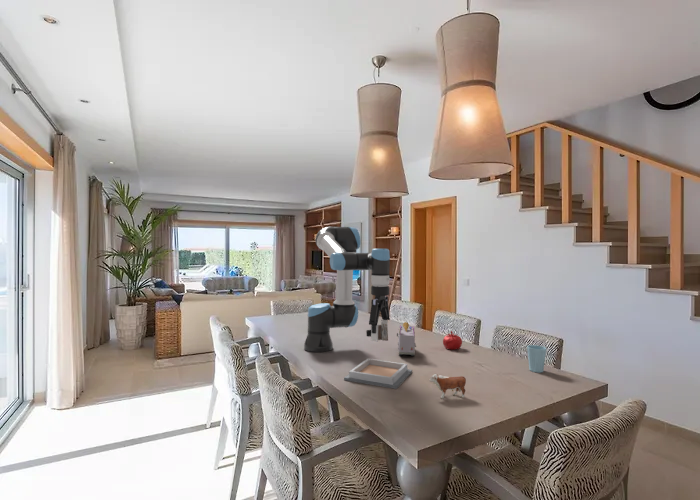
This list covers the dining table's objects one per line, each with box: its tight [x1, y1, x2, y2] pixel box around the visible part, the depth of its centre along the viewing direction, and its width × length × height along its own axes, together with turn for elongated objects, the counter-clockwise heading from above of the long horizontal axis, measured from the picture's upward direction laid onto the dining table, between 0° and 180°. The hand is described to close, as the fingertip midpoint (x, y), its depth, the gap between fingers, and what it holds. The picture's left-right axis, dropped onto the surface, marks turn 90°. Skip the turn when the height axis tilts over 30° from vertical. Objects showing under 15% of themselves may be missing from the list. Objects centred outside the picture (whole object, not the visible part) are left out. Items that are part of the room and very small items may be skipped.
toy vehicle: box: [396, 321, 417, 357], centre depth 194 cm, size 9×20×15 cm, turn 174°
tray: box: [343, 358, 413, 390], centre depth 158 cm, size 22×22×4 cm
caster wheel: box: [365, 324, 389, 341], centre depth 158 cm, size 7×11×10 cm
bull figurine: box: [428, 373, 466, 400], centre depth 136 cm, size 4×13×8 cm, turn 94°
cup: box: [526, 344, 547, 374], centre depth 168 cm, size 8×8×10 cm
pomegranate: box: [442, 330, 463, 350], centre depth 204 cm, size 10×10×9 cm
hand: (379, 338), depth 158 cm, fingers closed on caster wheel, 11 cm apart
